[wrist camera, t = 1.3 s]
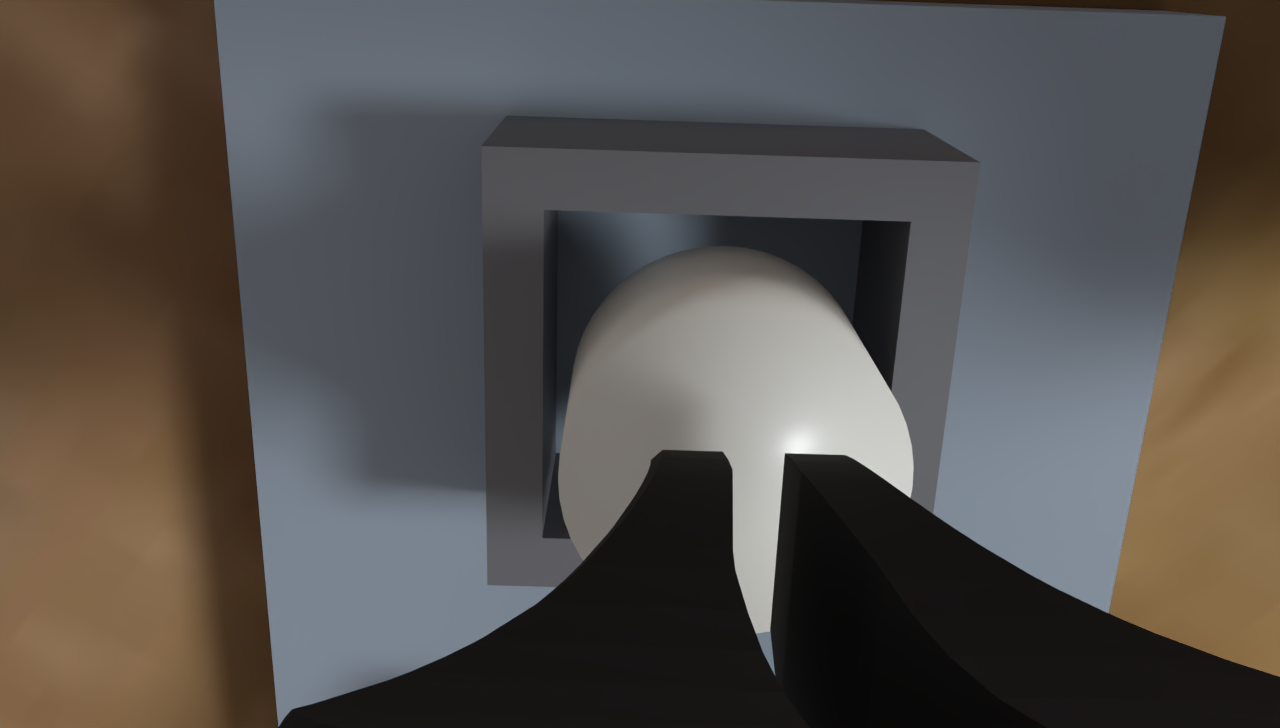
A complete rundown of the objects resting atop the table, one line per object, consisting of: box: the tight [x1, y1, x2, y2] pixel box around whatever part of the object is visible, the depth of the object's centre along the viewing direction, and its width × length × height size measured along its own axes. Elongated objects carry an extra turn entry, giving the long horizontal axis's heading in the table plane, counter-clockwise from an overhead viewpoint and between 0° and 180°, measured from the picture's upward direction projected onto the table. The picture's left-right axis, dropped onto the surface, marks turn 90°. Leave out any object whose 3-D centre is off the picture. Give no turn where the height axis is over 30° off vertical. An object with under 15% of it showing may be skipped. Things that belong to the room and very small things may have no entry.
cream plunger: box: [558, 246, 914, 633], centre depth 14 cm, size 4×4×3 cm
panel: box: [214, 0, 1226, 727], centre depth 20 cm, size 15×20×5 cm
